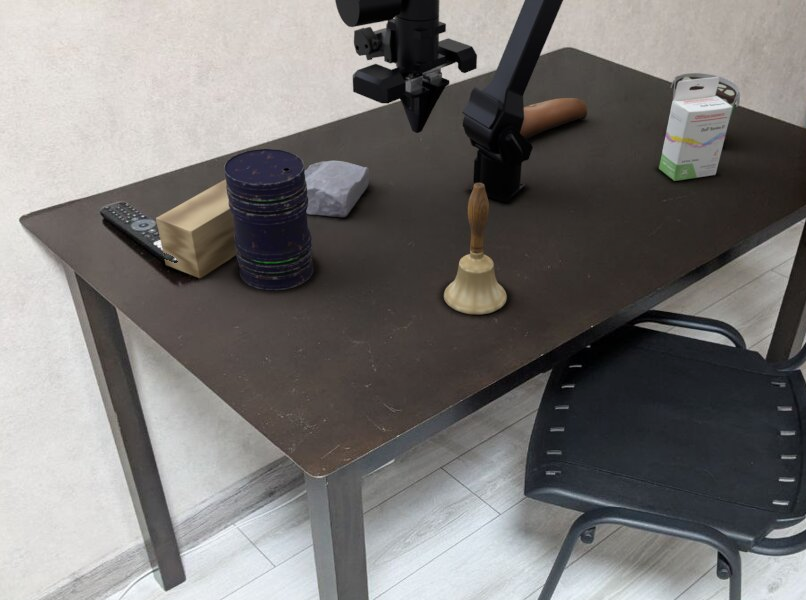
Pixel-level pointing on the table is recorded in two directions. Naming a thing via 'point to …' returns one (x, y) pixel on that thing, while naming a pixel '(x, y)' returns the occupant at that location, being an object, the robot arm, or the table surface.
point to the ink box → (695, 130)
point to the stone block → (334, 187)
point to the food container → (724, 90)
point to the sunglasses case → (551, 115)
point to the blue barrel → (270, 218)
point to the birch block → (199, 232)
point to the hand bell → (476, 266)
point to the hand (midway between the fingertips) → (416, 131)
